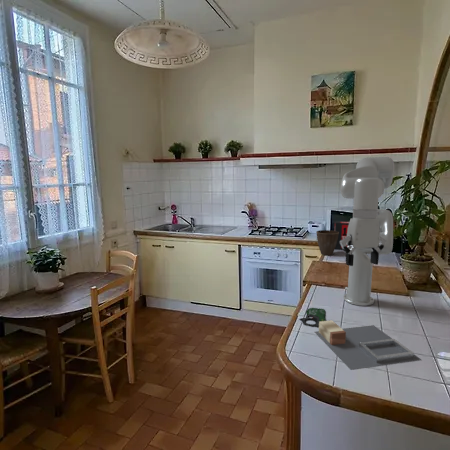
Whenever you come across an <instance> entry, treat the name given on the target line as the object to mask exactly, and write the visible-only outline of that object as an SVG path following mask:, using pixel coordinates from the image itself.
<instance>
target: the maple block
mask: <svg viewBox="0 0 450 450" xmlns="http://www.w3.org/2000/svg"><path fill="white" fill-rule="evenodd" d="M343 329H344V328H342V327H340V326H339V325H338V324H337V323H336V322H334V321H333V320H332V319H331V320H326V321H320V322H319V327H318V331H319V333H320V334H321V335H322V336H323V337H324V338H325V339H326V340H327V341H328V342H329V343H330V344H331V345H336V344H344V343H345V339H346V332H345V331H344V330H343Z"/></svg>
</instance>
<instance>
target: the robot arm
mask: <svg viewBox="0 0 450 450" xmlns="http://www.w3.org/2000/svg"><path fill="white" fill-rule="evenodd" d="M394 175H395V162H394V160H393V158H391V157H389V156H374V157H373V156H372V157H369V156H368V157H363V158H361V159H359V160H358V161H357V164H356V165H355V169H352V170H349V171H347V172H345V173H344V175H343V176H342V180H341V182H340V194H341V196H342V197H343V198H344V199H353V208H352V209H353V210H352V218H350V220H349V221H348V222H349V226H348V231H347V237H346V238H344V239H342V240H341V241H340V244H341V246H342V249H343V250H342V251H344V254H345V264H346V265H347V266H348V279H347V286H345V288H344V290H345V291H346V293H345V294H344V295H343V299H344V301H345V302H346V303H348V304H351V305H353V306H354V305H355V306H363V307H365V306H367V307H368V306H372V305H373V304H374V302H375V299H374V297H372V296H371V294H372V280H373V265H377V266H378V264H379V258H380V257H379V256H380V255H385V256H386V255H389V254H392V251H393V248H394V247H393V246H394V245H393V244H394V218H393V214H392V212H391V211H390V210H389V209H382V208H381V209H380V208H379V199H380V198H381V197H382V196H383V195H384V192H385V189H388V188H390V187H391V185H392V183H393V179H394ZM346 245H347V246H348V247H347V246H346ZM369 254H370V257H369V256H368V255H369Z"/></svg>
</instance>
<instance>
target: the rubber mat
mask: <svg viewBox="0 0 450 450" xmlns="http://www.w3.org/2000/svg"><path fill="white" fill-rule="evenodd" d="M342 329H343V330H344V331H345V332H346V339H345V343H344V344H336V345H331V344H330V343H329V342H328V341H327V340H326V339H325V338H324V337H323V336H322V335H321V334H320V333H319V330H318V331H314V333H315V334H316V336H317V337H318V338H319V339H320V340H321V341H322V342H323V343H324V344H325V345H326V346H327V347H328V348H329V349H330V350H331V351H332V352H333V353H334V354H335V355H336V356H337V358H338V359H339V360H341V361H342V363H343V364H345V366H346V367H348V369H349V370H351V371H352V370H359V369H360V370H361V369H369V368H376V367H382V366H388V365H396V364H404V363H411V362H412V363H413V362H418V361H422V358H421V357H419V356H417V355H416V354H414V358H408V359H401V360H394V361H386V362H379V363H376V362H375V361H374V360H373V359H372V358H370V357H369V356H368V355H367V354H366V353H365V352H364V351H362V350H361V349H360V348H359V343H362V342H370V341H378V340H387V339H393V338H392V337H391V336H390V335H388V334H386V333H385V332H384V331H382V330H381V329H380V328H378V327H377V326H376V325H374V324H372V325H362V326H355V327H354V326H353V327H346V328H342ZM369 349H370V350H371V351H372V352H373V353H375V354H376V355H377V356H382V355H389V354H397V353H404V352H402V351H401V350H400V349H398V348H397V347H395V346H394V345H386V346H378V347H370V348H369Z"/></svg>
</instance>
